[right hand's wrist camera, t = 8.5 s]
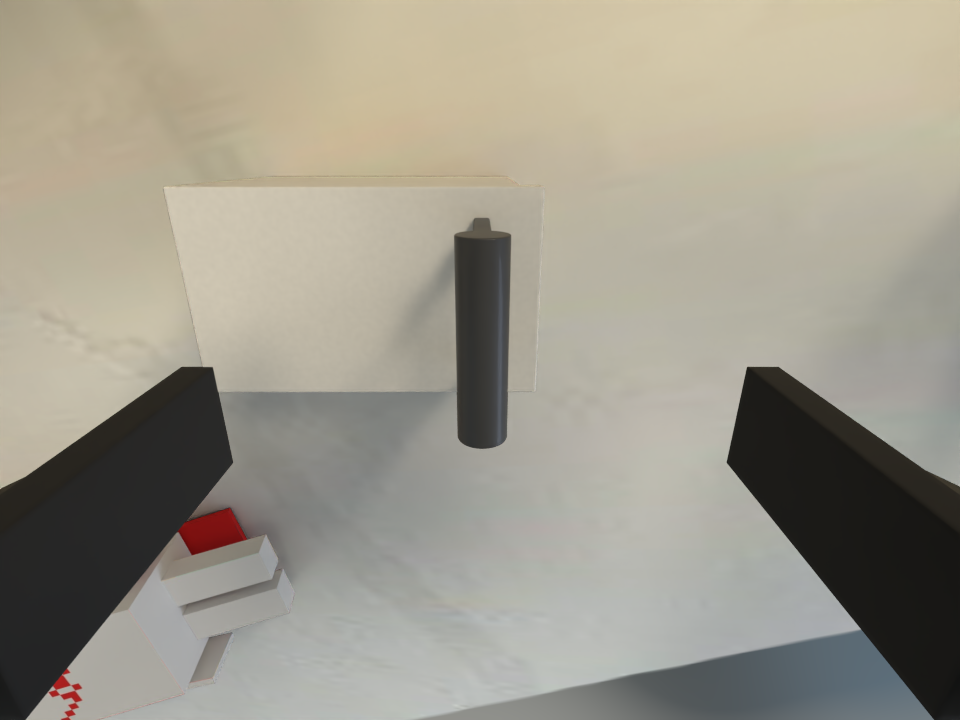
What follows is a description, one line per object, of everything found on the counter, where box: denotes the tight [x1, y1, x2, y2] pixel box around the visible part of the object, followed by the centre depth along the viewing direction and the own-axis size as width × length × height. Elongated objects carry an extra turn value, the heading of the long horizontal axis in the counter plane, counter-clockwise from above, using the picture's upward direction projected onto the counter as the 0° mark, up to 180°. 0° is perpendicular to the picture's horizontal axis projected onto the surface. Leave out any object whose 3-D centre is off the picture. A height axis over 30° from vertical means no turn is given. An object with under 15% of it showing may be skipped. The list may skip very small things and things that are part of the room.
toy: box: [26, 508, 295, 720], centre depth 41 cm, size 12×13×30 cm
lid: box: [163, 185, 545, 449], centre depth 21 cm, size 16×10×8 cm, turn 90°
